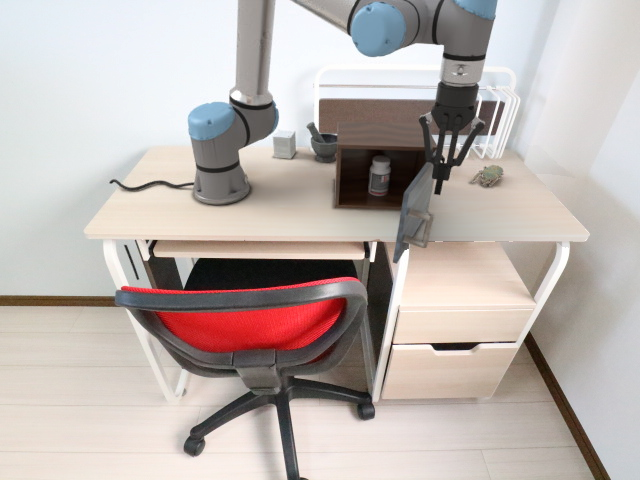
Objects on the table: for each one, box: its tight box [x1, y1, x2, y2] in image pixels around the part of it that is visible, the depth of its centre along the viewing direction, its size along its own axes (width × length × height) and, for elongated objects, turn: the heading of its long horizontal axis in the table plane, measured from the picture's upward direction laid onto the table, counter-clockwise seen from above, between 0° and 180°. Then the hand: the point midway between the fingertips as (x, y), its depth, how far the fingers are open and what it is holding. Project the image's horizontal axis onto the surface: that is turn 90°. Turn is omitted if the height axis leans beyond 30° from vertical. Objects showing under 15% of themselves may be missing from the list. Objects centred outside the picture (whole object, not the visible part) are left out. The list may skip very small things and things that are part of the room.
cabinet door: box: [392, 151, 436, 264], centre depth 87 cm, size 6×24×18 cm, turn 152°
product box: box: [272, 129, 297, 160], centre depth 128 cm, size 6×6×7 cm
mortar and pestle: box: [306, 121, 337, 163], centre depth 124 cm, size 11×9×12 cm
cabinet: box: [334, 120, 437, 211], centre depth 104 cm, size 16×24×18 cm, turn 88°
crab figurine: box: [470, 164, 505, 187], centre depth 116 cm, size 9×11×5 cm
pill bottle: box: [368, 155, 391, 196], centre depth 106 cm, size 6×6×10 cm
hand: (437, 191), depth 87 cm, fingers closed
